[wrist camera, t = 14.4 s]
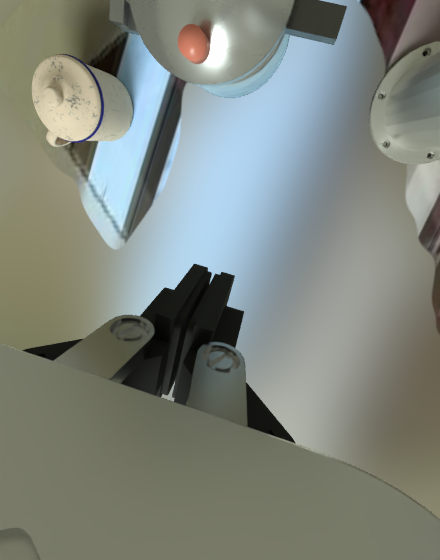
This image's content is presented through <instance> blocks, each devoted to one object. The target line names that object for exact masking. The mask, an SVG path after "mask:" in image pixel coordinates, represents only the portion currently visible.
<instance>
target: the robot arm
mask: <svg viewBox="0 0 440 560" xmlns="http://www.w3.org/2000/svg"><path fill="white" fill-rule="evenodd" d="M423 52H425V53H426V55H425V57H424V56H423V55H422V53H423ZM379 94H381V95H382V98H381V99H379V97H378V96H379ZM369 129H370V133H371V136H372V139H373V141H374V143H375V144H376V146H377V148H378V149H379V150H380V151H381V152H382V153H383V154H384V155H386V156H388V157H389V158H390V159H392V160H395V161H398V162H401V163H406V164H422V163H429V162H432V161H435V160H439V159H440V41H436V42H432V43H429V44H426V45H423V46H421V47H419V48H417V49H415V50H413V51H411V52H410V53H408V54H407V55H406V56H404V57H403V58H402V59H400V60H399V61H398V62H397V63H396V64H395V65H393V66H392V68H391V69H390V70H389V71H388V72H387V73H386V75H385V76H384V77H383V79H382V80H381V82H380V84H379V85H378V87H377V89H376V91H375V94H374V96H373V98H372V102H371V106H370V110H369ZM384 142H386V143H387V144H386V146H385V147H384V146H383V143H384ZM428 153H430V156H429V157H427V154H428ZM211 274H212V273H211V272H208V268H207V267H204V266H200V265H197V264H194V265H193V266H192V267H191V269H190V270H189V271H188V273H187V274H186V275H185V276H184V278H183V279H182V280H181V282H180V283H179V284H178V285H177V287H176V288H175V290H172V289H169V288H164V289H163V290H162V291H161V292H160V293H159V294H158V296H157V297H156V298H155V299H154V300H153V301H152V303H151V304H150V305H149V306H148V307H147V309H146V310H145V311H144V312H143V314H141V316H136V315H135V316H134V315H122V316H118V317H115V318H113V319H111V320H109V321H108V322H107V323H105V324H104V325H102V326H101V327H100V328H98V329H97V330H95V331H94V332H93V333H91V334H90V335H88V336H87V337H86V338H84V339H79V340H74V341H68V342H63V343H57V344H52V345H46V346H41V347H35V348H30V349H25V350H22V351H21V350H18V349H15V348H12V347H9V346H6V345H3V344H0V560H440V519H439V518H438V517H437V516H435V515H434V514H433V513H432V512H431V511H429V510H428V509H427V508H426V507H424V506H423V505H421V504H420V503H418V502H417V501H415V500H414V499H413V498H411V497H410V496H408V495H407V494H405V493H404V492H403V491H401V490H400V489H398V488H396V487H394V486H392V485H390V484H389V483H387V482H385V481H383V480H382V479H380V478H378V477H377V476H375V475H372V474H371V473H368V472H366V471H364V470H362V469H360V468H358V467H355V466H353V465H351V464H349V463H346V462H344V461H341V460H338V459H336V458H333V457H330V456H327V455H325V454H322V453H320V452H317V451H314V450H312V449H309V448H307V447H304V446H301V445H298V444H296V443H295V441H294V440H293V438H292V437H291V436H290V435H289V433H288V432H287V431H286V430H285V429H284V427H283V426H282V425H281V424H280V423H279V421H278V420H277V419H276V418H275V416H274V415H273V414H272V413H271V412H270V410H269V409H268V408H267V407H266V406H265V404H264V403H263V402H262V401H261V400H260V398H259V397H258V396H257V395H256V393H255V392H254V391H253V390H252V389H251V387H250V386H249V385H248V384H247V383H246V372H245V361H244V357H243V356H242V355H241V353H240V352H239V351H238V350H237V349H236V348H235V346H236V343H237V338H238V335H239V331H240V326H241V322H242V318H243V314H244V311H240V310H237V309H234V308H231V307H228V306H227V302H228V299H229V295H230V292H231V287H232V284H233V281H234V277H235V276H234V275H231V274H227V273H224V272H221V274H220V275H218V274H215V276H214V277H213V279H212V281H211V283H210V278H211ZM209 283H210V285H209ZM175 379H176V381H175ZM174 382H175V386H174V390H173V394H172V397H173V398H175V399H174V402H173V401H170V400H167V399H164V398H161V396H162V394H164V395H168V394H169V392H170V390H171V388H172V386H173V384H174Z"/></svg>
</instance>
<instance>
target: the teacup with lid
mask: <svg viewBox="0 0 440 560" xmlns="http://www.w3.org/2000/svg"><path fill="white" fill-rule="evenodd" d="M32 97H33V102H34V105H35V108H36V111H37V113H38V115H39V117H40V119H41V120H42V122H43V123H44V124H45V126H46V127H47V128H48V129H49V131H48V133H47V136H46V137H47V140H48V142H49V143H50V144H51V145H52V146H55V147H60V146H64V145H67V144H69V143H71V142H83V141H115V140H118V139H120V138H121V137H123V136H124V135H125V134H126V132H127V131H128V129H129V128H130V125H131V122H132V118H133V106H132V101H131V98H130V95H129V93H128V91H127V89H126V88H125V86H124V85H123V84H122V82H121V81H119V80H118V79H117V78H116V77H114V76H113V75H111V74H108V73H106V72H103V71H101V70H99V69H96V68H94V67H91V66H89V65H87V64H85V63H83V62H82V61H81V60H79V59H77V58H76V57H73V56H71V55H67V54H56V55H52V56H50V57H48V58H46V59H45V60H43V61H42V62H41V63H40V64H39V66H38V67H37V69H36V71H35V73H34V76H33V81H32Z"/></svg>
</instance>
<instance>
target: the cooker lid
mask: <svg viewBox="0 0 440 560" xmlns="http://www.w3.org/2000/svg"><path fill="white" fill-rule="evenodd" d="M129 1H130V7H131V11H132V15H133V18H134V21H135V24H136V27H137V29H138V32H139V34H140V36H141V38H142V40H143V42H144V44H145V45H146V47H147V49H148V50H149V52H150V53H151V54H152V56H153V57H154V58H155V59H156V60H157V62H158V63H160V64H161V65H162V66H163V67H164V68H165V69H166V70H168V71H169V72H170V73H172V74H173V75H175V76H176V77H178V78H180V79H182V80H184V81H186V82H189V83H192V84H194V85H199V86H205V87H215V86H221V85H226V84H229V83H232V82H235V81H237V80H239V79H241V78H243V77H245V76H246V75H248V74H249V73H251V72H252V71H254V70H255V69H256V68H257V67H258V66H259V65H260V64H262V63H263V61H264V60H265V59H266V58H267V57H268V56H269V55H270V54H271V52H272V51H273V49H274V48H275V46H276V45H277V44H278V42H279V40H280V38H281V37H282V35H283V33H284V31H285V29H286V27H287V24H288V22H289V20H290V17H291V14H292V11H293V7H294V4H295V0H129Z"/></svg>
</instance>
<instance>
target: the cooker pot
mask: <svg viewBox="0 0 440 560" xmlns="http://www.w3.org/2000/svg"><path fill="white" fill-rule="evenodd" d="M346 8H347V7H346V6H343V5H338V4H334V3H329V2H324V1H320V0H295V4H294V7H293V11H292V14H291V17H290V20H289V22H288V24H287V27H286V29H285V31H284V33H283V35H282V37H281V38H280V40H279V42H278V44H277V45H276V46H275V48H274V49H273V51H272V52H271V54H270V55H269V56H268V57H267V58H266V59H265V60H264V61H263V63H262V64H260V65H259V66H258V67H257V68H256V69H255V70H254V71H252V72H251V73H249V74H248V75H246V76H245V77H243V78H241V79H239V80H237V81H235V82H232V83H229V84H226V85H221V86H215V87H205V86H200V87H202V88H203V89H205V90H206V91H208V92H210V93H211V94H213V95H216V96H219V97H225V98H236V97H241V96H245V95H248V94H250V93H252V92H254V91H256V90H257V89H259V88H260V87H261V86H262V85H264V84H265V83H266V82H267V81H268V80H269V79H270V78H271V77H272V75H273V74H274V73H275V71H276V70H277V68H278V66H279V65H280V63H281V61H282V59H283V57H284V55H285V52H286V49H287V46H288V41H289V37H290V35H293V36H297V37H302V38H306V39H310V40H315V41H319V42H324V43H328V44H332V45H334V43H335V41H336V39H337V36H338V33H339V30H340V26H341V23H342V20H343V17H344V14H345V11H346ZM109 20H110V21H111V22H112V23H114V24H115V25H116V26H119V28H121V29H122V30H123V31H125V32H129V33H133V34H137V35H140V34H139V32H138V29H137V27H136V24H135V21H134V18H133V15H132V11H131V7H130V1H129V0H110V13H109Z"/></svg>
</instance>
